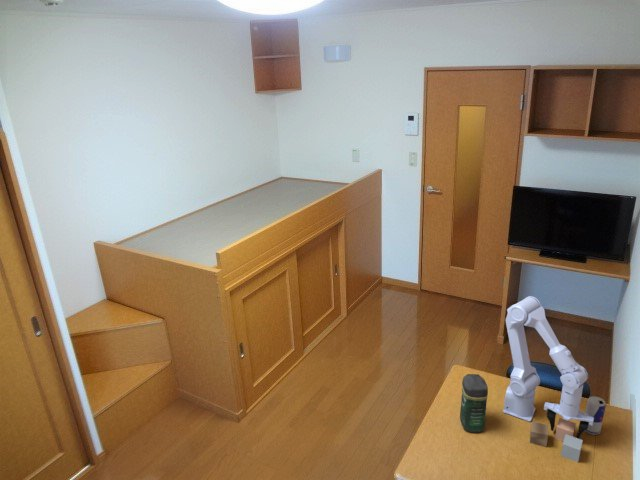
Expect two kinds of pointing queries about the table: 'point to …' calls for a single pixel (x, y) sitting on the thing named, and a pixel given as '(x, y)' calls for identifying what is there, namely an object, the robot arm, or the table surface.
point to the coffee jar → (473, 403)
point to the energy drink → (595, 414)
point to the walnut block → (539, 434)
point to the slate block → (571, 448)
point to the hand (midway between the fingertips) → (565, 433)
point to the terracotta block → (564, 429)
